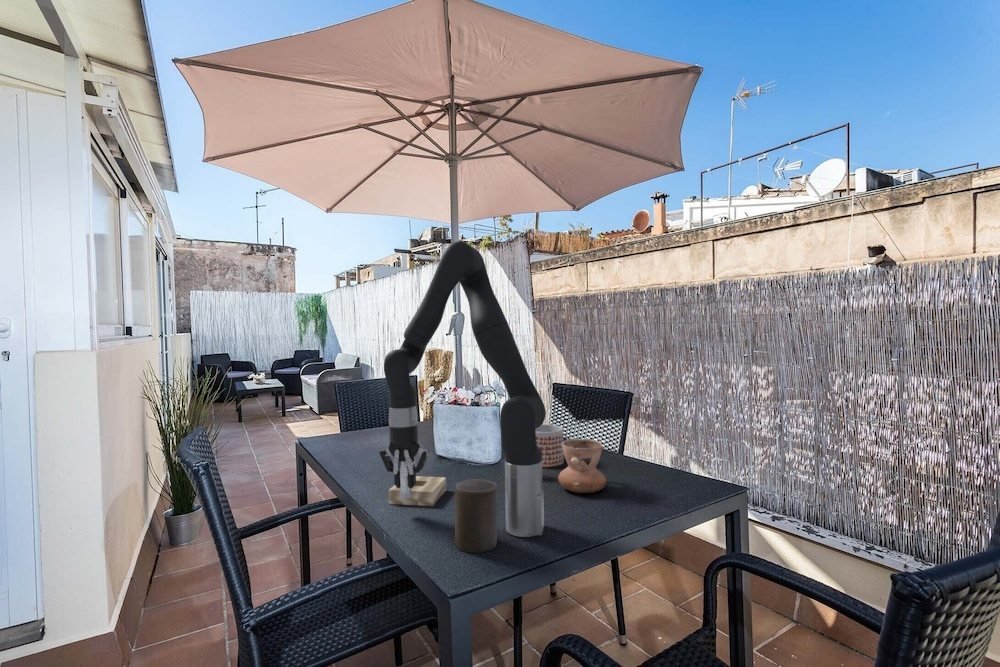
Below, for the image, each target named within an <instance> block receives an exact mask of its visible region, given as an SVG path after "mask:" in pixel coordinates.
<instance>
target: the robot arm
mask: <svg viewBox="0 0 1000 667" xmlns="http://www.w3.org/2000/svg"><path fill="white" fill-rule="evenodd" d="M458 283H460V285H461V287H462V290H463V292H464V294H465V296H466V299H467V302H468V305H469V313H470V314H469V316H470V325H471V330H472V333H473V337H474V338H475V342H476V344H477V347H478V348H479V352H480V353H481V356H482V357H483V358H484V360H485V361H486V362H487V363H488V365H489V366H490V367H491V369H492V370H494V372H495V373H496V375H498V377H499V378H500V380H501V381H502V383H503V385H504V387H505V389H506V392H507V395H508V399H507V400H506V401H504V403H503V404H502V406H501V409H500V416H499V422H500V424H499V426H500V441H501V442H500V443H501V449H502V451H503V454H504V492H505V494H504V497H505V530H506V532H507V533H508V534H510V535H512V536H515V537H520V538H529V537H530V538H531V537H535V536H543V532H544V527H545V505H544V504H545V501H544V500H545V499H544V497H545V494H544V493H545V492H544V491H545V490H544V488H543V487H544V486H543V468H542V450H541V448H540V447H538V446H537V444H536V428H538V427H540V426H541V425H542V424H544V421H545V420H546V415H547V414H546V413H547V411H546V406H545V404H544V401H543V399H542V397H541V396H540V394H539V391H538V390H537V388H536V386H535V384H534V382H533V381H532V378H531V377H530V375H529V372H528V370H527V367H526V365H525V362H524V360H523V357H522V355H521V353H520V350H519V348H518V345H517V343H516V340H515V338H514V335H513V332H512V330H511V328H510V325H509V323H508V321H507V319H506V316H505V314H504V312H503V309H502V307H501V304H500V303H499V301H498V298H497V296H496V294H495V292H494V290H493V288H492V284H491V282H490V278H489V275H488V271H487V268H486V264H485V260H484V258H483V256H482V254H481V252H480V251H479V250H477V249H476V248H475V247H474V246H472V245H470V244H469V243H466V241H465V242H464V241H455V242H452V243H450V244H449V245H448V246H447V247H446V248H445V249H444V251H443V253H442V255H441V257H440V260H439V262H438V264H437V267H436V270H435V271H434V275H433V277H432V279H431V281H430V283H429V286H428V289H427V291H426V293H425V295H424V297H423V299H422V301H421V303H420V305H419V307H417V310H416V312H415V314H414V315H413V317H412V318H411V320H410V322H409V324H408V325H407V327H406V328H405V330H404V332H403V338H404V340H403V342H402V344H401V346H400V347H399V348H398V349H393V350H390V351H389V352H388V353H387V354H386V356H385V357H384V362H383V371H384V377H385V382H386V385H387V387H388V391H389V392H388V399H389V400H388V403H389V405H388V406H389V412H388V429H389V431H388V433H389V434H388V436H389V445H388V447H387V448H384V449H382V450H381V451H379V456H380V458H381V460H382V463H383V465H384V467H385V470H386V472H388V473H393V475H394V477H393V479H394V480H393V483H394V485H395V486H396V487H397V488H400V476H399V461H406V463H407V466H408V469H409V488H413V487H414V486H415V485H416V476H417V473H419V472H421V471H422V470H423V468H424V467H425V464H426V462H427V459H428V455H429V453H430V450H429V449H424V448H422V447H421V446H420V443H419V430H418V429H419V426H418V425H419V424H418V410H417V399H416V398H417V397H416V396H417V395H416V392H417V391H416V387H415V385H413V384H412V383H411V378H410V377H411V376H410V374H411V373H413V372H415V370H416V369H417V368H418V366H419V365H420V363H421V362H422V359H423V356H424V353H425V351H426V349H427V346H428V344H429V343H430V341H431V339H432V338H433V336H434V335H435V333H436V331H437V330H438V329H439V326H440V325H441V322H442V320H443V317H444V313H445V309H446V306H447V303H448V301H449V298H450V295H451V294H452V292H453V290H454V289H455V287H456V286H457V285H458ZM417 454H418V457H419V460H418V463H417V462H416V461H417V460H416V456H417ZM391 455H392V457H393V458H394V460H393V461H392V458H391ZM416 464H417V465H416Z"/></svg>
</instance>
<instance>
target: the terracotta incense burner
mask: <svg viewBox="0 0 1000 667" xmlns="http://www.w3.org/2000/svg"><path fill="white" fill-rule="evenodd" d="M603 447H604V446H603V443H602V442H599V441H598V440H594V439H593V440H592V439H588V438H571V439H566V440H563V442H562V448H563V457H564V458H565V461H566V463H567V466H566V468H564V469H562V470H561V471H560V473H559V474H558V477H557V480H558V482H559V484H560V485H561V487H563V488H564V490H565V489H566V490H567V491H570V492H573V493H576V494H591V493H596V492H598V491H601V490H602V489H604V487H606V485H607V477H606V475H605V474H604V473H603V472H601V470H599V469H597V466H598V463H599V461H600V458H601V455H602V451H603Z"/></svg>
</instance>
